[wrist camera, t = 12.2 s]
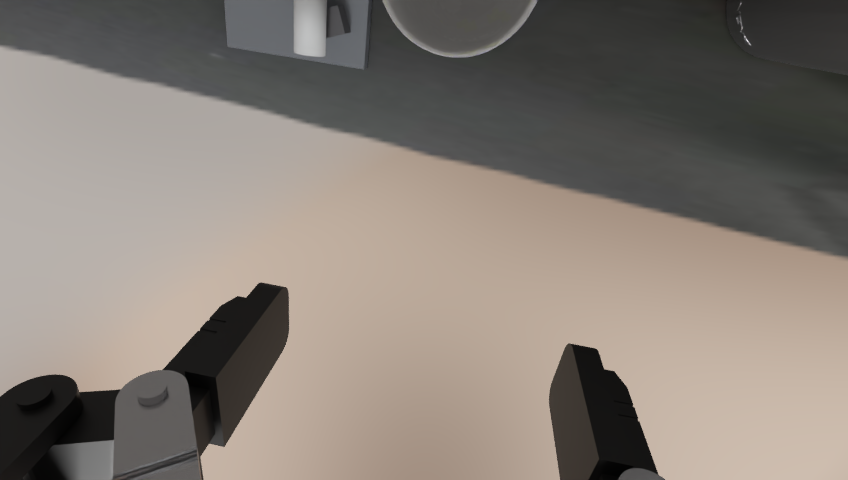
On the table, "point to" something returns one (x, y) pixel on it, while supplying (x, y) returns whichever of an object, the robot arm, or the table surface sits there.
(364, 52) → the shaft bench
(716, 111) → the table surface
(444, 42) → the teacup
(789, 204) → the table surface
